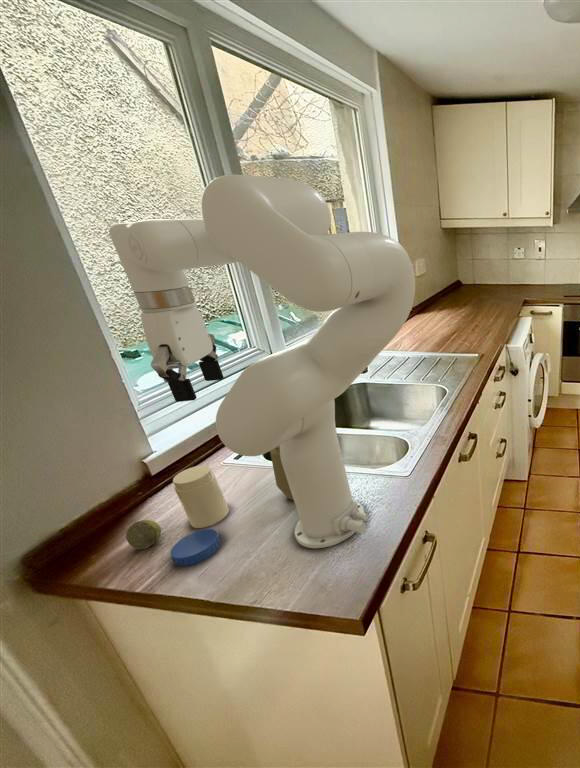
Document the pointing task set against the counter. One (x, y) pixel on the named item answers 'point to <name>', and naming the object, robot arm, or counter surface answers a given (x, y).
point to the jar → (200, 496)
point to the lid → (195, 547)
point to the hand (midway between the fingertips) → (201, 389)
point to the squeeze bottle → (280, 473)
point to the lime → (143, 534)
